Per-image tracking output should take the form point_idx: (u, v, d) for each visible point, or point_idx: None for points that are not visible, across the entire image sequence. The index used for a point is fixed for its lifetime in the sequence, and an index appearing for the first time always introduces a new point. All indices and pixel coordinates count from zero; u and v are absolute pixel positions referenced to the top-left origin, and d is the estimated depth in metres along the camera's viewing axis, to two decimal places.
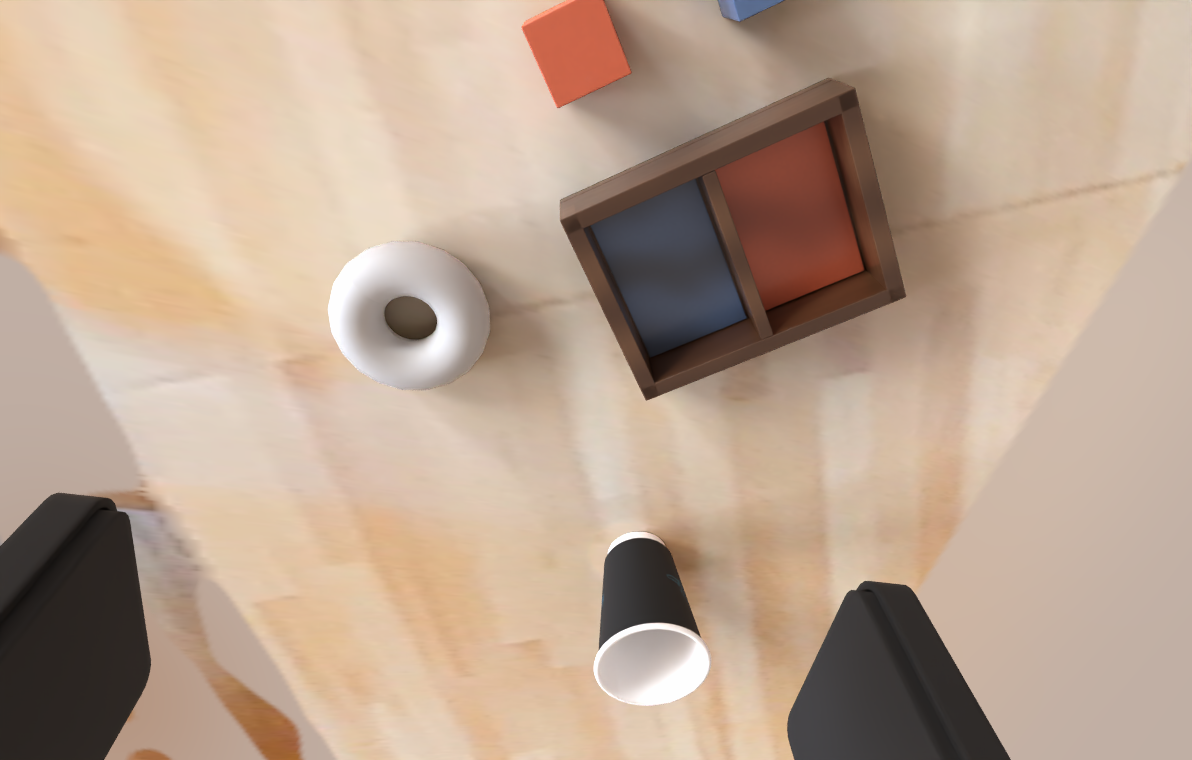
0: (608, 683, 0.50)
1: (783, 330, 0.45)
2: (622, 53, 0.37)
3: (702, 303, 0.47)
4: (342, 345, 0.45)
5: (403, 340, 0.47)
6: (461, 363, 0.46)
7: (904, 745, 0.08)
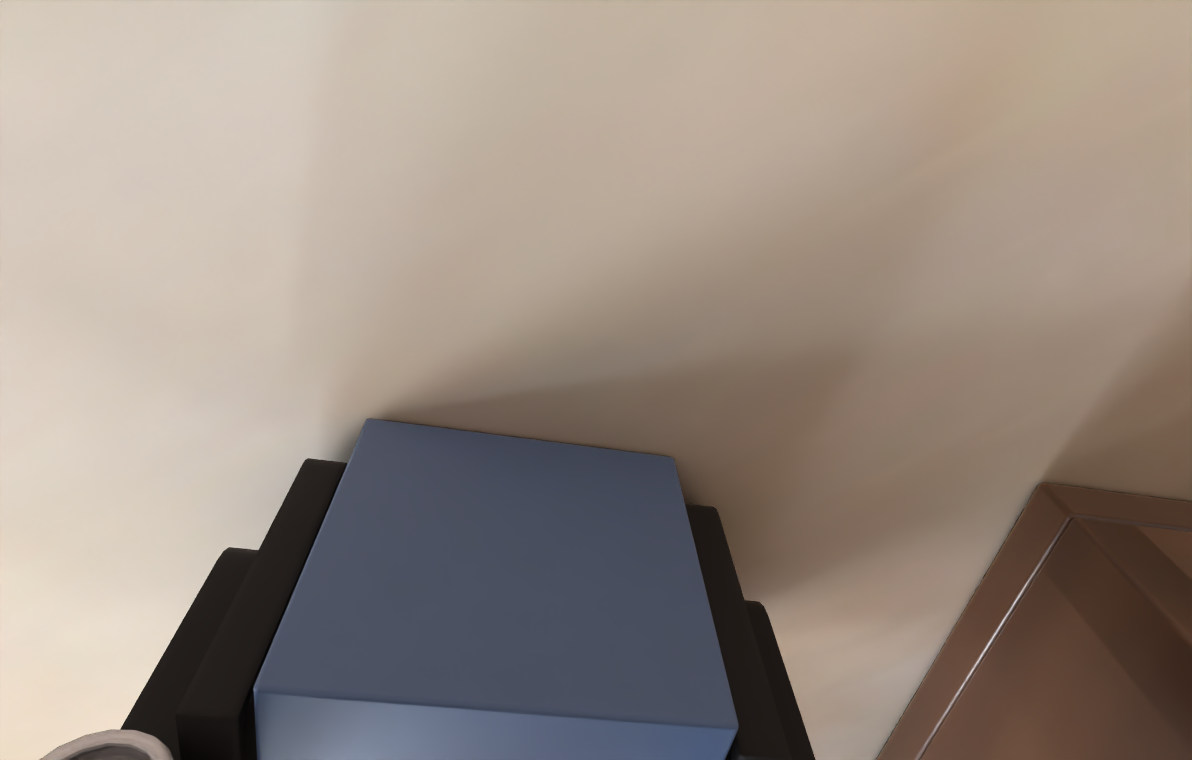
0: None
1: None
2: None
3: None
4: None
5: None
6: None
7: None
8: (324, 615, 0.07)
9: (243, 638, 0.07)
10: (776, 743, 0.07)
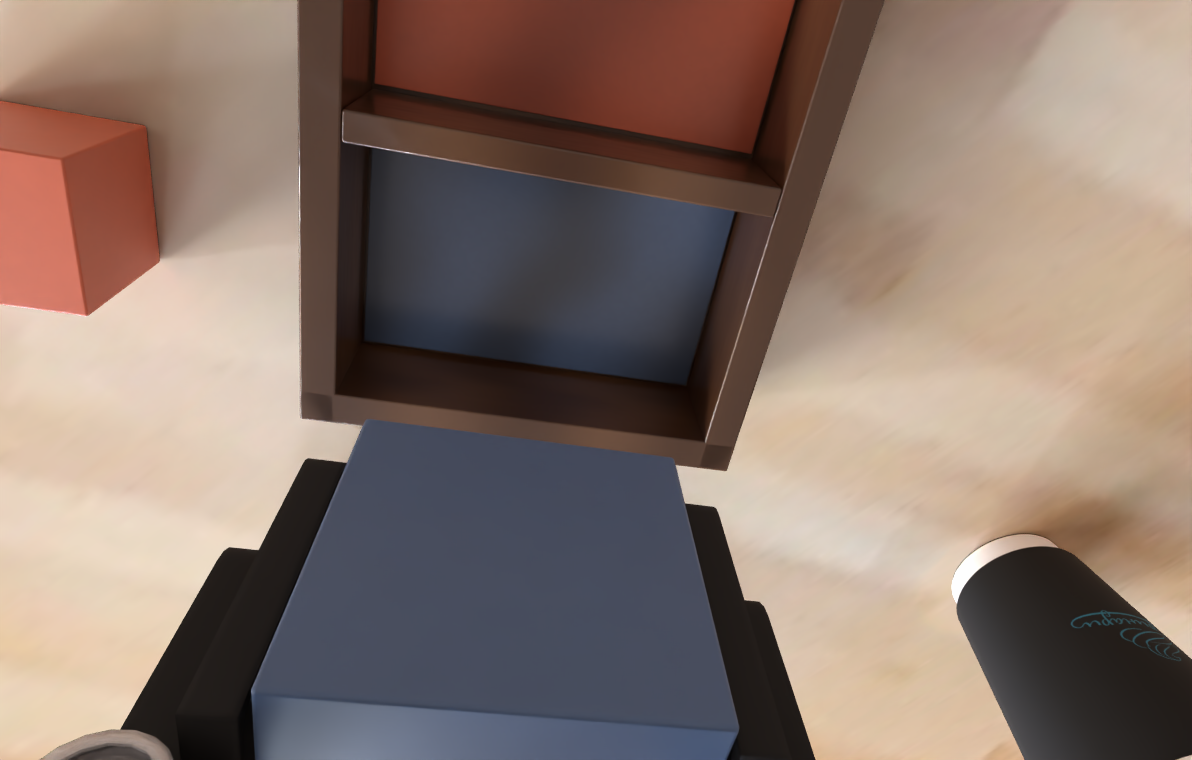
0: None
1: (790, 162, 0.19)
2: (15, 154, 0.17)
3: (651, 251, 0.23)
4: None
5: None
6: None
7: None
8: (322, 616, 0.07)
9: (243, 638, 0.07)
10: (776, 743, 0.07)
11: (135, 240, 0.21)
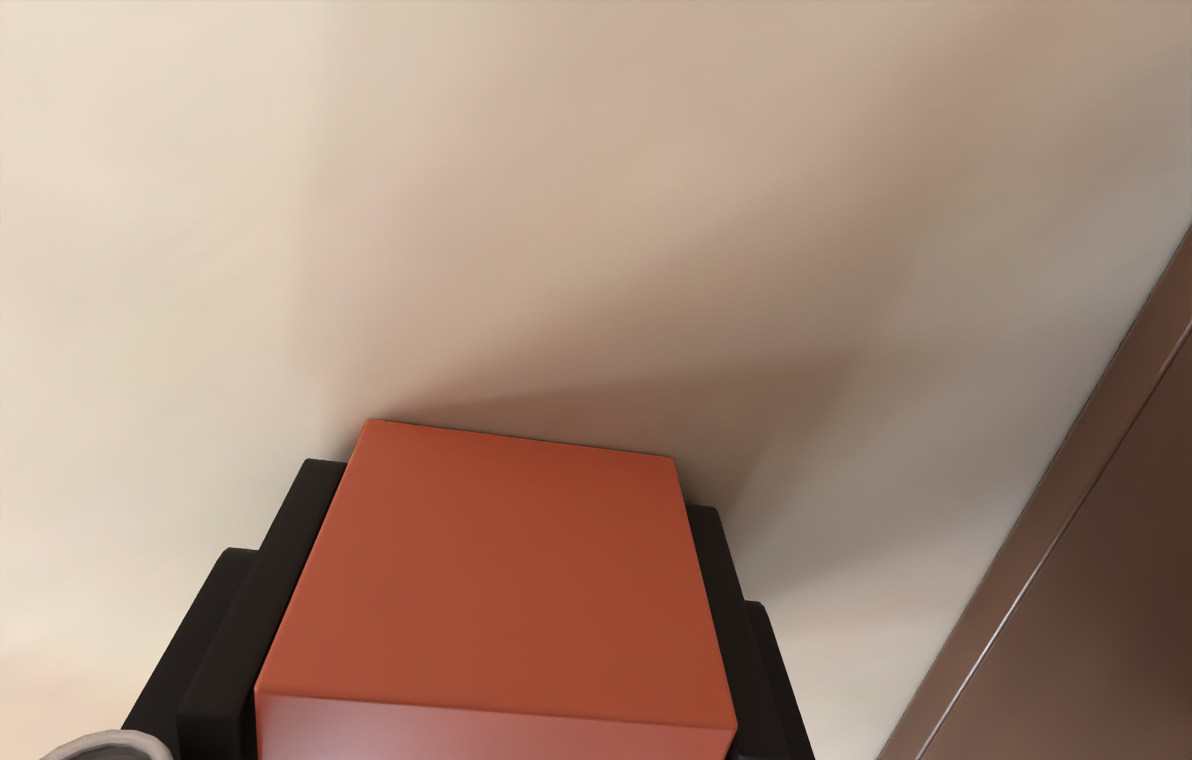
0: None
1: None
2: (624, 722, 0.06)
3: None
4: None
5: None
6: None
7: None
8: None
9: (243, 638, 0.07)
10: (776, 743, 0.07)
11: None
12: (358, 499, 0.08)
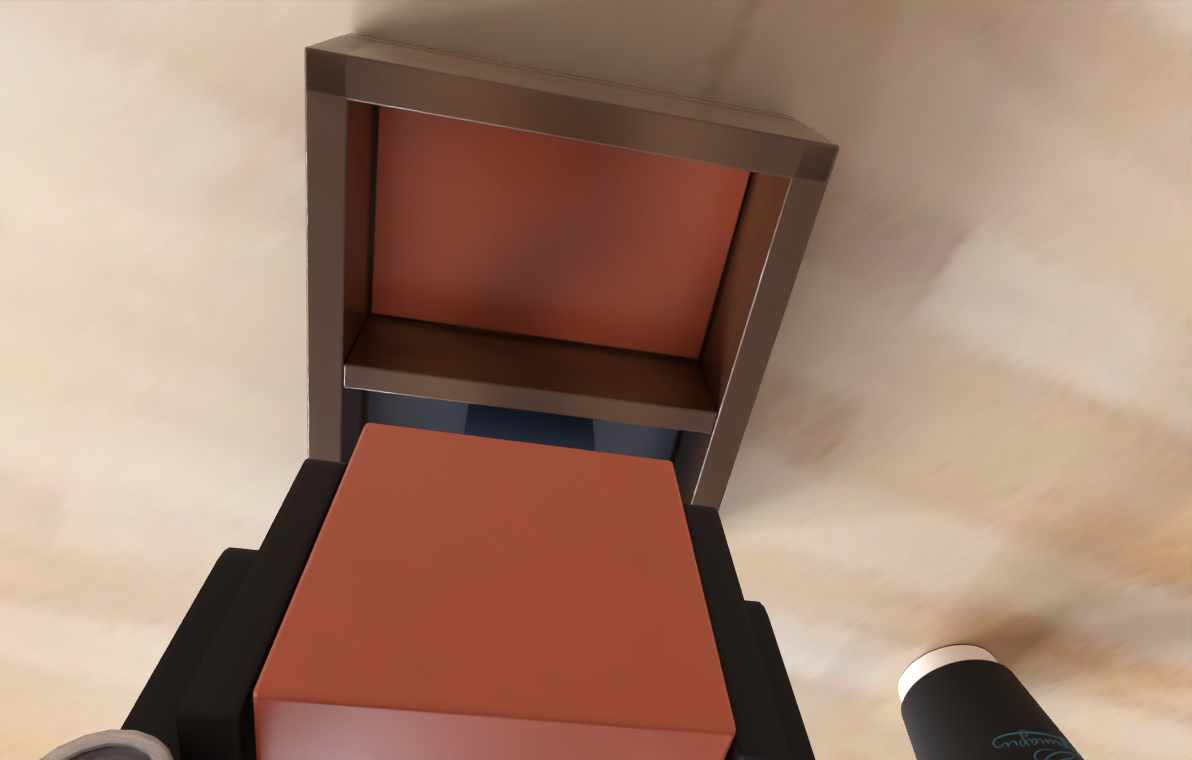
0: None
1: (723, 392, 0.22)
2: (622, 727, 0.06)
3: (614, 434, 0.26)
4: None
5: None
6: None
7: None
8: None
9: (243, 638, 0.07)
10: (776, 743, 0.07)
11: None
12: (356, 503, 0.08)
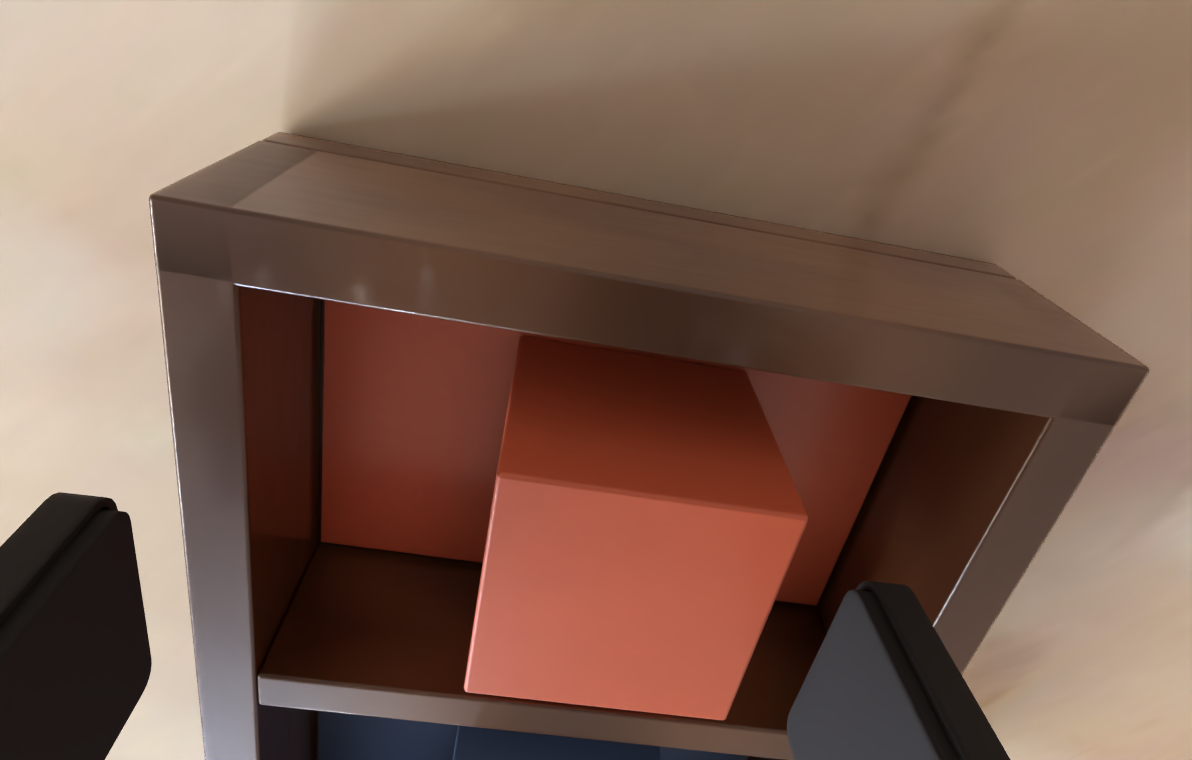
0: None
1: None
2: (733, 511, 0.10)
3: None
4: None
5: None
6: None
7: (904, 745, 0.08)
8: None
9: None
10: None
11: None
12: (530, 381, 0.12)
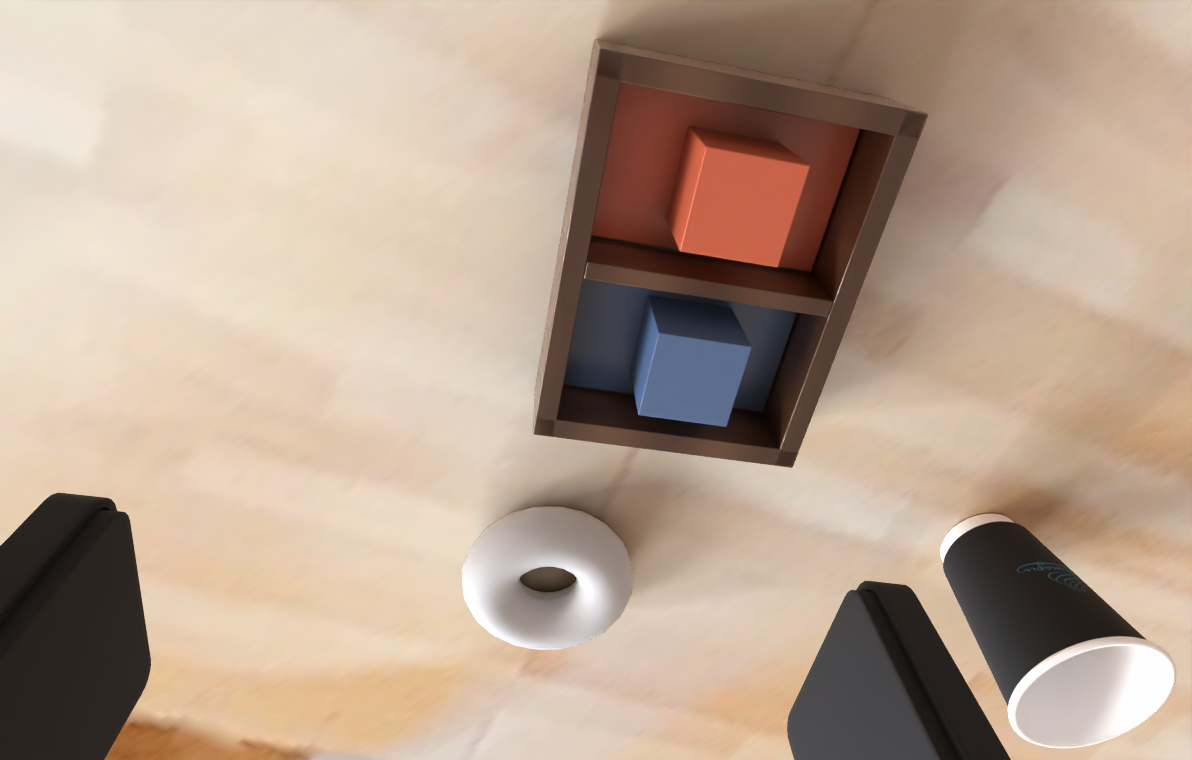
0: (1063, 736, 0.38)
1: (838, 286, 0.32)
2: (784, 163, 0.28)
3: (745, 329, 0.36)
4: (526, 647, 0.43)
5: (564, 596, 0.43)
6: (615, 581, 0.41)
7: (904, 745, 0.08)
8: (664, 325, 0.32)
9: None
10: None
11: None
12: (701, 134, 0.30)
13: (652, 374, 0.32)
